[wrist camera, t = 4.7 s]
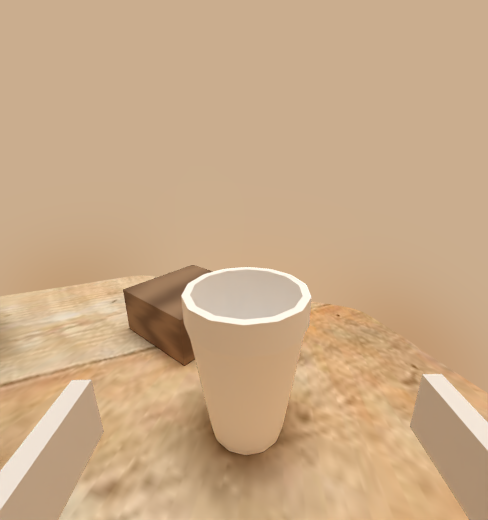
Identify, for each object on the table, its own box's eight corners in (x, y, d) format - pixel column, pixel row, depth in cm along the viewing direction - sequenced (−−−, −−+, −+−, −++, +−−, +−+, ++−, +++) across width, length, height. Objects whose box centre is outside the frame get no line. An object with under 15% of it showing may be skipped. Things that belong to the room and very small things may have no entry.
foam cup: (322, 446, 23) (339, 305, 18) (213, 498, 19) (203, 340, 15) (267, 371, 31) (270, 261, 27) (184, 398, 28) (172, 277, 23)
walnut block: (129, 328, 39) (123, 289, 37) (195, 297, 48) (192, 264, 46) (184, 365, 32) (180, 320, 30) (249, 321, 41) (249, 283, 39)
